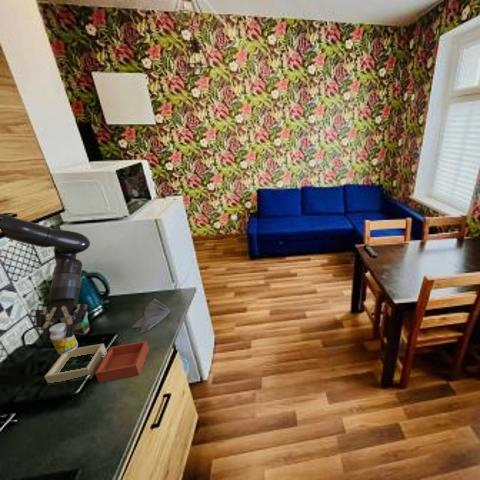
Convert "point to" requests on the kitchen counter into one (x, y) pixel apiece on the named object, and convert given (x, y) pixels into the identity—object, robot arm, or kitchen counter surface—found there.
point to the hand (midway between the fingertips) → (58, 338)
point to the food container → (79, 324)
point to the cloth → (152, 315)
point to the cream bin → (91, 368)
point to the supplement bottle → (62, 339)
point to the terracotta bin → (122, 361)
